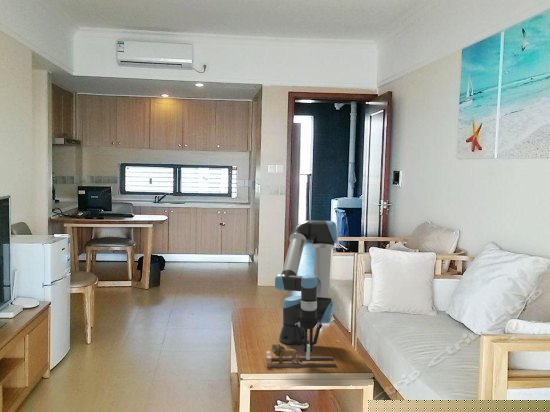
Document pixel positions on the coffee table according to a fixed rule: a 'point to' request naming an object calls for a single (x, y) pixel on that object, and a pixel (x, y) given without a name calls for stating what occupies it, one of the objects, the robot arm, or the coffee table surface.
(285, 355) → the lion figurine
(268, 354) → the track
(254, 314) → the coffee table surface
